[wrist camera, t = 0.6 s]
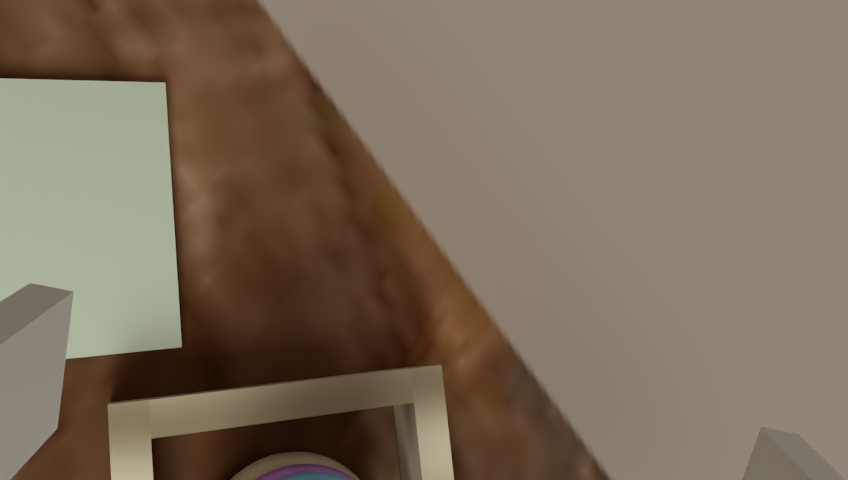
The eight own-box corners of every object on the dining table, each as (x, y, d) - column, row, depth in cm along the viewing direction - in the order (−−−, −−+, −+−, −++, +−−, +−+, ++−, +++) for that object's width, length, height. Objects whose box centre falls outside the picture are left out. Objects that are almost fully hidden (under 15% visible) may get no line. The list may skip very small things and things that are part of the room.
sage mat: (-149, 79, 31) (-154, 74, 30) (165, 87, 35) (165, 82, 34) (-148, 379, 29) (-153, 379, 28) (181, 347, 33) (181, 347, 33)
